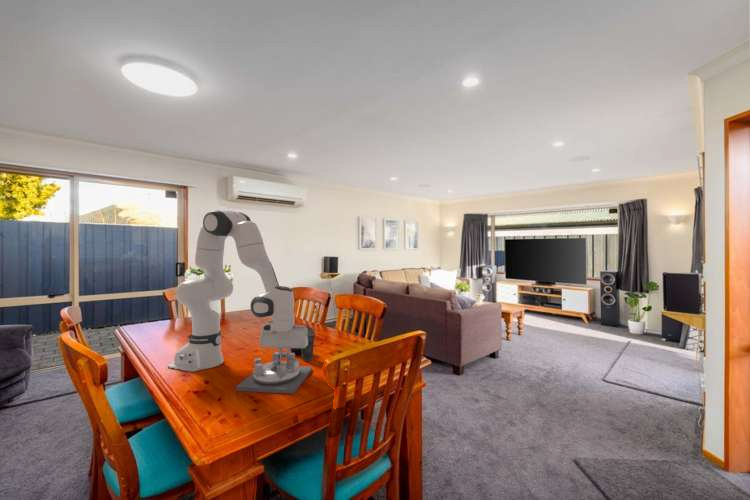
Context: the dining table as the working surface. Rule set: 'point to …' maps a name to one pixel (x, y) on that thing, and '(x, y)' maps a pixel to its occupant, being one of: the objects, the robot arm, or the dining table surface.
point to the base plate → (282, 388)
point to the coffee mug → (296, 351)
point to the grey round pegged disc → (276, 370)
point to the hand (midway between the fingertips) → (284, 357)
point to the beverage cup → (308, 350)
